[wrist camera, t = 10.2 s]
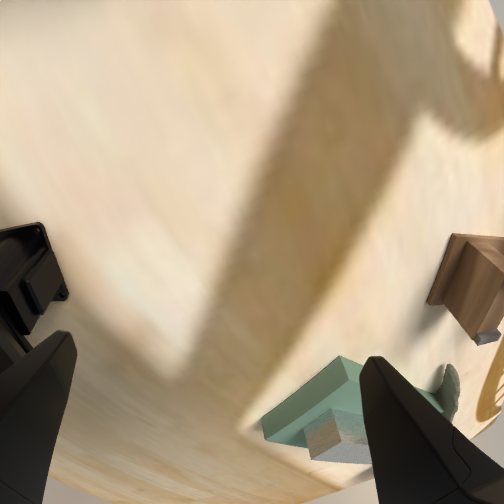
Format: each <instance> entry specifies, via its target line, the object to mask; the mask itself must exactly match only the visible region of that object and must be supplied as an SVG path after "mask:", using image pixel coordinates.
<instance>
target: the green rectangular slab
mask: <svg viewBox="0 0 504 504" xmlns="http://www.w3.org/2000/svg"><path fill="white" fill-rule="evenodd" d="M362 368H363V365H360V364H358V363H356V362H353V361H351V360H349V359H346V358H344V357H342V356H338V357H337V358H336V359H335V360H334V361H333V362H331V363H330V364H329V365H328V366H327V367H326V368H324V369H323V370H322V371H321V372H320V373H319V374H317V375H316V376H315V377H314V378H312V379H311V380H310V381H309V382H308V383H306V384H305V385H304V386H303V387H301V388H300V389H299V390H298V391H296V392H295V393H294V394H293V395H291V396H290V397H289V398H287V399H286V400H285V401H283V402H282V403H281V404H280V405H278V406H277V407H276V408H274V409H273V410H272V411H270V412H269V413H267V414H266V415H265V416H263V417H262V418H261V419H262V425H263V432H264V439H265V440H266V441H270V442H275V443H281V444H286V445H292V446H297V447H304V448H308V445H307V440H306V436H305V432H304V428H303V427H304V426H306V425H307V424H309V423H310V422H312V421H313V420H315V419H316V418H317V417H319V416H320V415H322V414H323V413H324V412H326V411H327V410H329V409H330V408H334V409H338V410H342V411H346V412H350V413H354V414H358V415H362V416H363V412H362V402H361V392H360V383H359V375H360V372H361V370H362ZM415 388H416V387H415ZM416 389H417V390H418V391H419V392H420V393H421V394H422V395H423V396H424V397H425V398H426V399H427V400H428V401H429V402H430V403H431V404H432V405H433V406H434V407H435V408H436V409H437V410H438V411H439V412H440V413H442V412H444V410H443V408H442V406H441V404H440V402H439V400H438V399H437V397H436V395H434V394H431V393H429V392H426V391H423V390H421V389H418V388H416Z"/></svg>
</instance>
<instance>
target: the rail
mask: <svg viewBox="0 0 504 504" xmlns="http://www.w3.org/2000/svg"><path fill="white" fill-rule="evenodd" d="M303 428H304V432H305V436H306V440H307V445H308V449H309V453H310V457H311V460H318V461H328V462H340V463H355V464H372V461H371V455H370V450H369V445H368V440H367V435H366V431H365V426H364V420H363V416H362V415H358V414H354V413H350V412H346V411H342V410H338V409H334V408H330V409H329V410H327V411H326V412H324V413H323V414H322V415H320V416H319V417H317V418H316V419H315V420H313V421H312V422H310V423H309V424H307V425H306V426H304V427H303Z"/></svg>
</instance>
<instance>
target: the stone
mask: <svg viewBox="0 0 504 504" xmlns="http://www.w3.org/2000/svg"><path fill="white" fill-rule="evenodd" d="M459 395H460V382H459V376H458V373H457V371H456V370H455V368H454V367H453V366H452V365H451V364H447V367H446V369H445V374H444V376H443V382H442V385H441V388H440V389H439V393H438V395H437V399H438V400H439V402H440V404H441V406H442V408H443V410H444V412H442V413H441V414H442V415H443V416H444V417H445V418H446V419H448V420H449V421H450V422H451V423H452V420H453V417H454V414H455V412H457V410H458V397H459Z"/></svg>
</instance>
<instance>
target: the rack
mask: <svg viewBox="0 0 504 504" xmlns="http://www.w3.org/2000/svg"><path fill="white" fill-rule="evenodd" d="M427 303H428V304H429V305H430V306H431V305H441V304H444V305H445V306H446V307H447V308H448V310H449V311H450V312H451V313H452V315H453V316H454V317H455V318H456V320H457V321H458V322H459V323H460V325H461V326H462V327H463V329H464V330H465V331H466V333H467V334H468V335H469V337H470V338H471V339H472V340H474V342H475V343H476V344H477V346H479V345H483V344H487V343H490V342H494V341H498V339H499V338H500V336H501V333H500V332H499V331H498V329H497V327H498V326H499V324H500V322H501V320H502V318H503V317H504V237H493V236H480V235H468V234H455V233H452V236H451V239H450V242H449V245H448V248H447V251H446V254H445V257H444V259H443V262H442V265H441V267H440V270H439V273H438V275H437V278H436V280H435V283H434V285H433V288H432V290H431V292H430V295H429V297H428V299H427Z"/></svg>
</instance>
